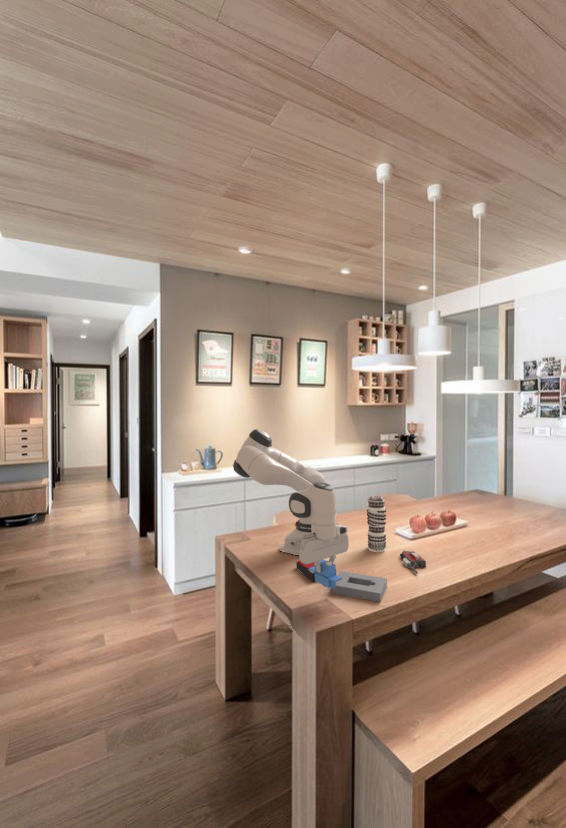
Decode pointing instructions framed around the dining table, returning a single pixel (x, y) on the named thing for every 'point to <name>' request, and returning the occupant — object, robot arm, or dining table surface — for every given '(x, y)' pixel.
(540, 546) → the dining table surface
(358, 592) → the chassis deck
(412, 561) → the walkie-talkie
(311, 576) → the calculator
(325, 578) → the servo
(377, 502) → the white patterned cylinder
